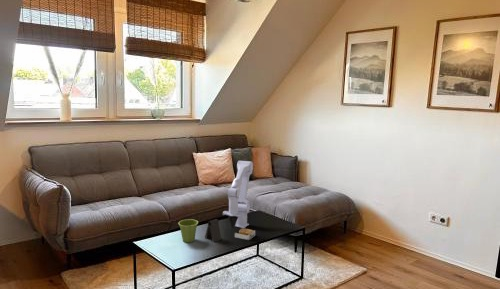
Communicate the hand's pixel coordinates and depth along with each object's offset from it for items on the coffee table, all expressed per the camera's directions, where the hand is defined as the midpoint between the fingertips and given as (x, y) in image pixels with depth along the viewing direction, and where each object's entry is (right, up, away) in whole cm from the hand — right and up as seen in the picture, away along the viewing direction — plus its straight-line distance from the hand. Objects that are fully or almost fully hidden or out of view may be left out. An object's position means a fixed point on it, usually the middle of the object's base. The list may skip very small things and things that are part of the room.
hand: (233, 227), depth 233 cm
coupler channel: (+8, -5, -3) cm, 10 cm away
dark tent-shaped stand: (-12, -6, -8) cm, 16 cm away
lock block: (+8, -5, -3) cm, 10 cm away
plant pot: (-27, -6, -11) cm, 30 cm away
